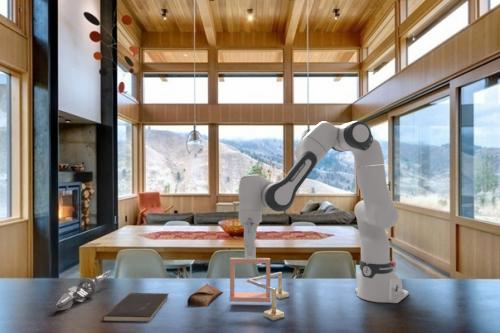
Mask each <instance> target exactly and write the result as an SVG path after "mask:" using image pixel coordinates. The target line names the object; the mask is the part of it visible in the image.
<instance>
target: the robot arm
mask: <svg viewBox="0 0 500 333" xmlns="http://www.w3.org/2000/svg"><path fill="white" fill-rule="evenodd" d="M371 131H372V130H371V128H370V127H369V125H368V124H367V123H366V122H363V121H361V120H351V121H350V122H346V123H343V124H341V125H339V126H335V125H334V123H331V122H328V121H323V120H322V121H320V122H319V123H317V124H316V125H314V126H313V127H312V128H311V129H310V130H309V131H308V132H307V133H306V134H305V135H304V136H303V137H302V139H301V140H300V141H299V142H298V144H297V146H296V147H295V150H294V155H295V160H296V161H295V163H294V165H293V166H292V168H291V169H290V170H289V171H288V172H287V174H286V175H285V176H284V177H283V178H282V179H281V180H280V181H278V182H273V181H271V180H268V179H267V178H264V177H263V176H262V175H260V174H257V173H254V174H253V173H252V174H248V175H244V176H242V177H241V178H240V180H239V185H238V201H239V205H238V222H239V223H241V227H243V245H244V247H245V246H247V255H248V256H252V249H253V246H254V244H255V242H256V238H257V232H258V231H257V230H258V227H259V226H260V224H259V223H262V222H263V207H267V208H269V209H271V210H272V211H275V212H280V213H281V212H284V211H287V210H288V209H290V208H291V207H292V205H293V204H294V201H295V197H296V194H297V192H298V190H299V189H300V187H301V186H302V184H303V183H304V181H305V180H306V179H307V178H308V176H309V175H310V174H311V172H312V171H313V170H314V168H315V167H316V166H317V165H318V164H319V163H320V162H321V161H322V160H323V159H324V158H325V156H326V155H327V154H328V153H329V151H330V150H331V149H333V151H336V152H341V153H344V152H349V151H350V152H352V154H353V155H354V159H355V169H356V170H355V171H356V181H357V188H359V191H360V194H361V196H362V197H361V198H362V199H361V200H360V201H358V202H357V203H356V204H355V205H354V215H355V217H356V222H357V229H358V233H359V240H360V260H359V269H360V270H359V271H358V273H357V282H356V287H355V288H354V292H355V293H356V296H358V298H360V299H362V300H365V301H368V302H374V303H391V304H399V302H401V301H402V300H403V299H405V298H406V297H407V296H408V295H409V294H410V293H409V291H408V290H406V289H404V288H403V282H402V279H401V278H400V276H398V274H396V273H395V272H394V271H393V267H394V268H395V267H396V261H391V255H390V254H391V249H390V247H391V246H390V244H391V243H390V240H389V239H388V236H387V233H386V229H390V228H392V227H393V226H395V225H396V224H397V222H398V221H399V211H398V210H397V208H396V207H395V204H394V203H393V200H392V197H391V195H390V191H389V188H388V183H387V177H386V176H387V175H386V169H385V159H384V154H383V150H382V147H381V144H380V142H379V141H378V140H377V139H375V138H374V136H373V134H372V132H371Z"/></svg>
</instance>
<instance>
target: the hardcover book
mask: <svg viewBox="0 0 500 333" xmlns="http://www.w3.org/2000/svg"><path fill="white" fill-rule="evenodd" d="M168 298H169V293H168V292H167V293H166V292H165V293H162V292H161V293H158V292H154V293H153V292H151V293H149V292H148V293H147V292H130V293H128V294H127V295H126V296H124V298H123V299H121V300H120V301H119V302H118V303H116V304H115V305H114V306H113V307H112V308H111V309H110V310H109V311H107V312H105V314H104V315H103V316H102V321H114V322H115V321H117V322H118V321H120V322H125V321H126V322H150V320H151V319H152V318H154V316H155V314H156V313H157V312H158V311H159V309H160V308H161V307H162V306H163V304H164V303H165V302H166V301H167V299H168Z"/></svg>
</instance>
